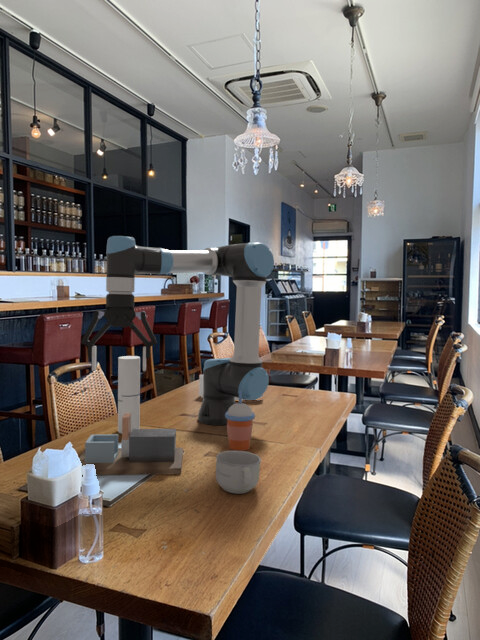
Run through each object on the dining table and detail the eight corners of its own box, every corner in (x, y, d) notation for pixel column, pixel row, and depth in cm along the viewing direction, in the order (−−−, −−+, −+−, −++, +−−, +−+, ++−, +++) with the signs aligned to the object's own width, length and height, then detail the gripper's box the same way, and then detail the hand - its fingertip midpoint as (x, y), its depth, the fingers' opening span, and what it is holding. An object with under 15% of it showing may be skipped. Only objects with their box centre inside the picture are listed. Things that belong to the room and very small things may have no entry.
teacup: (214, 479, 116) (215, 448, 116) (257, 479, 117) (258, 448, 117) (216, 505, 102) (217, 470, 102) (264, 504, 103) (265, 469, 103)
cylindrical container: (134, 434, 151) (134, 359, 150) (114, 432, 153) (114, 358, 151) (142, 428, 158) (143, 356, 157) (123, 426, 160) (124, 355, 158)
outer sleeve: (175, 453, 130) (175, 428, 130) (174, 462, 124) (174, 436, 123) (132, 453, 129) (132, 429, 129) (128, 462, 122) (129, 436, 122)
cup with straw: (232, 454, 135) (233, 393, 134) (219, 445, 143) (220, 387, 142) (259, 450, 139) (260, 391, 138) (245, 441, 147) (246, 385, 146)
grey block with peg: (171, 450, 129) (171, 412, 129) (170, 456, 124) (170, 417, 124) (124, 450, 128) (124, 412, 128) (121, 457, 123) (121, 417, 123)
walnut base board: (183, 452, 135) (183, 447, 135) (181, 473, 119) (181, 468, 119) (85, 453, 133) (85, 448, 133) (70, 475, 117) (70, 469, 117)
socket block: (118, 453, 129) (118, 434, 129) (113, 462, 122) (113, 442, 122) (91, 453, 128) (91, 434, 128) (85, 463, 121) (85, 442, 121)
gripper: (166, 294, 131) (165, 368, 133) (76, 292, 128) (75, 367, 129) (166, 294, 124) (164, 372, 125) (70, 292, 121) (69, 372, 122)
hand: (119, 370), depth 127 cm, fingers open, 13 cm apart
